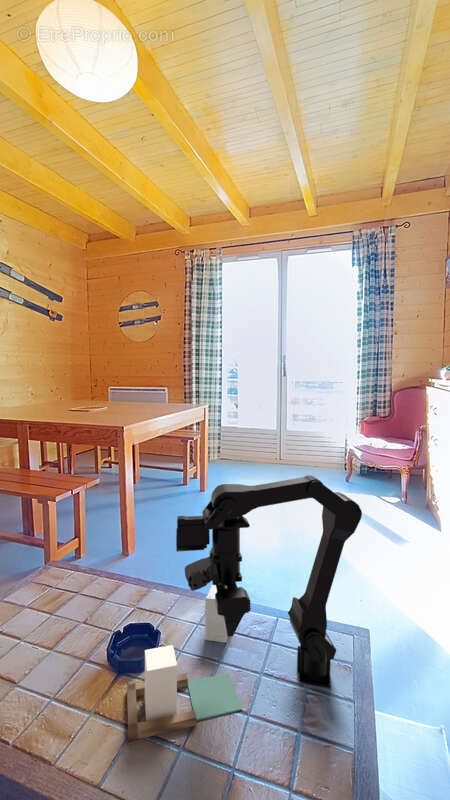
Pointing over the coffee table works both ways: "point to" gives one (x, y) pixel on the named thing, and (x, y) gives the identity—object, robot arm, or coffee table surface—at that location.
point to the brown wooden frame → (157, 724)
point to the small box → (214, 619)
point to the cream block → (160, 682)
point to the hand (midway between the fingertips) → (226, 621)
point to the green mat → (213, 696)
